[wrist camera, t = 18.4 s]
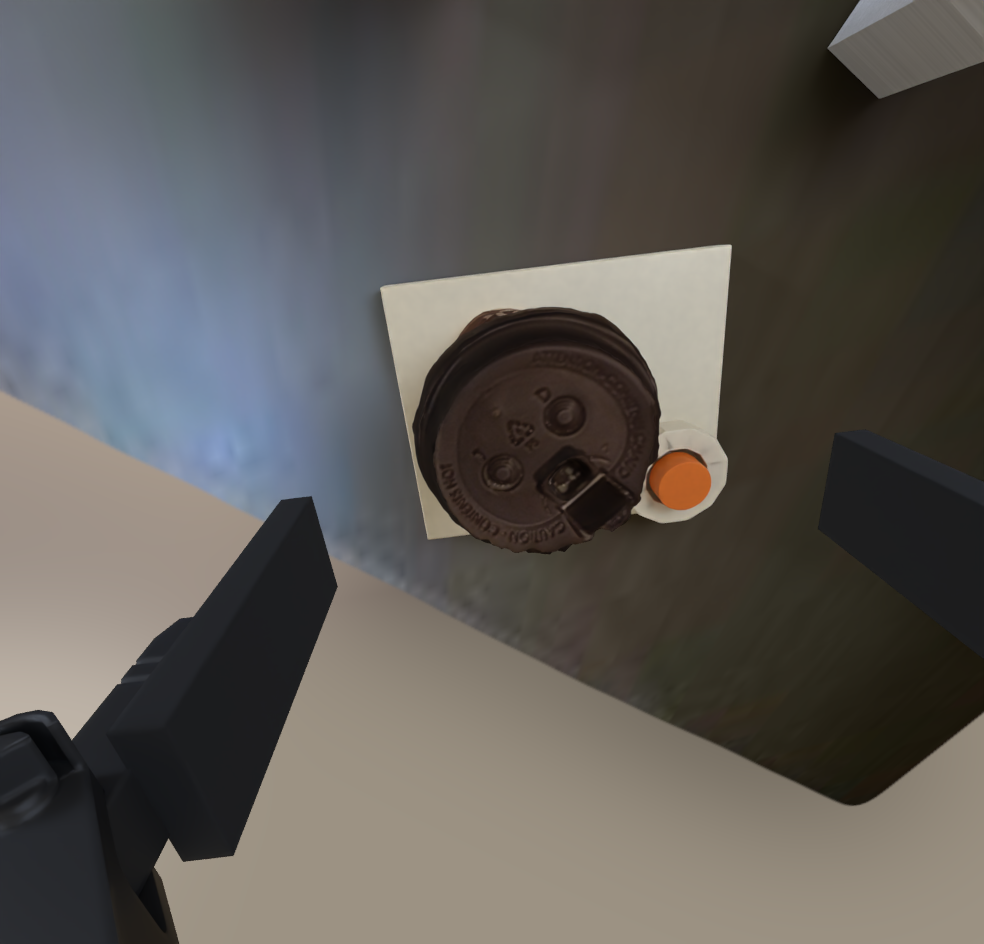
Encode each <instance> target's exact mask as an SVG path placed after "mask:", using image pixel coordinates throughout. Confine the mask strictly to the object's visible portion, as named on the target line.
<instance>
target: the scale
mask: <svg viewBox="0 0 984 944" xmlns="http://www.w3.org/2000/svg"><path fill="white" fill-rule="evenodd" d="M731 248H732V246H731V245H714V246H705V247H697V248H689V249H681V250H672V251H664V252H656V253H648V254H639V255H631V256H623V257H615V258H607V259H598V260H590V261H582V262H574V263H565V264H557V265H549V266H541V267H532V268H524V269H516V270H508V271H499V272H491V273H483V274H475V275H467V276H458V277H450V278H442V279H434V280H425V281H417V282H409V283H401V284H392V285H385V286H383V287H381V288H380V290H381V296H382V301H383V306H384V311H385V317H386V322H387V327H388V332H389V338H390V343H391V348H392V353H393V359H394V364H395V369H396V374H397V380H398V385H399V390H400V395H401V401H402V406H403V411H404V416H405V422H406V427H407V432H408V437H409V443H410V448H411V453H412V458H413V464H414V469H415V474H416V479H417V485H418V490H419V495H420V500H421V506H422V511H423V516H424V521H425V527H426V532H427V537H428V539H429V540H430V539H438V538H446V537H454V536H462V535H470V534H469V533H468V532H467V531H466V530H465V529H463V528H462V527H460V526H459V525H457V524H456V523H455V522H454V521H453V520H452V519H451V518H450V516H449V515H448V513H447V512H446V511H445V510H444V509H443V508H442V506H441V505H440V503H439V502H438V500H437V499H436V497H435V496H434V494H433V493H432V492H431V491H430V489H429V488H428V486H427V484H426V482H425V480H424V478H423V476H422V474H421V471H420V469H419V466H418V462H417V458H416V452H415V444H414V433H413V430H412V423H413V421H414V417H415V413H416V410H417V408H418V406H419V402H420V398H421V394H422V389H423V386H424V381H425V378H426V376H427V374H428V372H429V370H430V368H431V367H432V366H433V364H434V363H435V362H436V361H437V360H438V358H439V357H440V356H441V355H442V354H443V353H444V351H445V350H446V349H447V348H448V347H450V346H451V345H452V344H453V343H454V342H455V340H456V339H457V338H458V336H459V335H460V333H461V332H462V331H463V329H464V328H465V327H466V326H467V324H468V323H469V322H470V321H471V320H472V319H473V318H475V317H476V316H477V315H479V314H481V313H482V312H484V311H491V310H493V309H497V308H513V309H519V310H525V309H530V308H539V307H564V308H572V309H575V310H579V311H582V312H589V313H596V314H599V315H601V316H603V317H605V318H606V319H608V320H609V321H611V322H612V323H613V324H615V325H616V326H617V327H618V328H619V329H620V330H621V331H622V332H623V333H624V334H625V335H626V336H627V337H628V338H629V339H630V340H631V341H632V343H633V344H634V345H635V346H636V347H637V348H638V349H639V351H640V353H641V355H642V357H643V358H644V359H645V360H646V362H647V365H648V367H649V369H650V370H651V373H652V376H653V377H654V378H655V382H656V385H657V390H658V401H659V404H660V409H661V417H660V419H659V437H658V439H659V445H660V446H659V450H658V458H657V460H656V461H655V462H654V463H653V464H651V465H650V466H649V467H648V469H647V473H646V478H645V481H644V483H643V490H642V493H641V494H640V495H641V501H640V502H639V503H638V504H637V505H636V506H634V507H633V509H632V510H631V514H636V513H638V514H639V515H641V516H643V517H646V518H648V519H651V520H654V521H656V522H659V523H669V522H677V521H685V520H688V519H690V518H692V517H693V516H695V515H697V514H698V513H700V512H702V511H703V510H705V509H707V508H708V507H710V506H711V505H712V504H713V502H714V501H715V499H716V498H717V496H718V495H719V493H720V492H721V490H722V489H723V487H724V486H725V484H726V477H727V466H728V459H727V456H726V455H725V453H724V451H723V449H722V448H721V446H720V444H719V442H718V441H717V439H716V437H717V425H718V412H719V400H720V387H721V374H722V362H723V349H724V337H725V324H726V311H727V299H728V286H729V274H730V261H731ZM674 452H684V453H688V454H690V455H692V456H693V457H694V458H696V459H697V460H698V461H699V462H700V463H701V464H702V465H703V466H705V467H706V468H707V470H708V471H709V473H710V476H711V488H710V491H709V493H708V495H707V496H706V498H705V499H704V500H703V501H702V502H701V503H700V504H698V505H697V506H695V507H693V508H690V509H687V510H674V509H670V508H668V507H667V506H665V505H664V504H663V503H662V502H661V500H660V499H659V498H658V497H657V495H656V494H655V493H654V492H653V490H652V489H651V486H650V483H649V477H650V472H651V470H652V468H653V466H654V465H655V463H656V462H657V461H658V460H659V459H661V458H662V457H663V456H665V455H667V454H670V453H674Z"/></svg>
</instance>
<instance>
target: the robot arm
mask: <svg viewBox="0 0 984 944" xmlns="http://www.w3.org/2000/svg"><path fill="white" fill-rule="evenodd" d="M818 529H819V530H820V531H821V532H823V533H824V534H825V535H827V536H828V537H829V538H830V539H832V540H833V541H834V542H835V543H837V544H838V545H839V546H841V547H842V548H843V549H844V550H846V551H847V552H848V553H849V554H851V555H852V556H853V557H855V558H856V559H857V560H858V561H860V562H861V563H862V564H863V565H865V566H866V567H867V568H869V569H870V570H871V571H872V572H874V573H875V574H876V575H877V576H879V577H880V578H881V579H883V580H884V581H885V582H886V583H888V584H889V585H890V586H891V587H893V588H894V589H895V590H896V591H898V592H899V593H900V594H902V595H903V596H904V597H905V598H907V599H908V600H909V601H910V602H912V603H913V604H914V605H916V606H917V607H918V608H919V609H921V610H922V611H923V612H924V613H926V614H927V615H928V616H930V617H931V618H932V619H933V620H935V621H936V622H937V623H938V624H940V625H941V626H942V627H944V628H945V629H946V630H947V631H949V632H950V633H951V634H952V635H954V636H955V637H956V638H958V639H959V640H960V641H961V642H963V643H964V644H965V645H966V646H968V647H969V648H970V649H971V650H973V651H974V652H975V653H977V654H978V655H979V656H980V657H982V658H983V659H984V482H983V481H980V480H978V479H976V478H974V477H971V476H969V475H967V474H965V473H962V472H960V471H958V470H956V469H953V468H951V467H949V466H947V465H944V464H942V463H940V462H938V461H935V460H933V459H931V458H929V457H926V456H924V455H922V454H920V453H917V452H915V451H913V450H911V449H908V448H906V447H904V446H902V445H899V444H897V443H895V442H893V441H890V440H888V439H886V438H884V437H881V436H879V435H877V434H874V433H872V432H870V431H868V430H857V431H849V432H841V433H835V436H834V441H833V447H832V453H831V458H830V464H829V470H828V475H827V481H826V487H825V492H824V498H823V504H822V509H821V515H820V521H819V526H818ZM337 587H338V586H337V583H336V579H335V576H334V573H333V569H332V565H331V562H330V558H329V555H328V551H327V548H326V544H325V541H324V538H323V534H322V531H321V527H320V524H319V520H318V517H317V513H316V510H315V506H314V503H313V499H312V496H310V497H302V498H293V499H285V500H281V501H280V502H279V504H278V505H277V506H276V508H275V509H274V510H273V512H272V513H271V514H270V516H269V517H268V518H267V520H266V521H265V522H264V524H263V525H262V526H261V528H260V529H259V530H258V532H257V533H256V534H255V536H254V537H253V538H252V540H251V541H250V542H249V544H248V545H247V546H246V548H245V549H244V550H243V552H242V553H241V554H240V556H239V557H238V558H237V560H236V561H235V562H234V564H233V565H232V566H231V568H230V569H229V570H228V572H227V573H226V574H225V576H224V577H223V578H222V580H221V581H220V582H219V584H218V585H217V586H216V588H215V589H214V590H213V592H212V593H211V594H210V596H209V597H208V598H207V600H206V601H205V602H204V604H203V605H202V606H201V608H200V609H199V610H198V612H197V613H196V614H195V616H194V617H190V618H182V619H179V620H178V621H176V622H175V623H174V624H173V625H171V626H170V627H169V628H167V629H166V630H165V631H163V632H162V633H161V634H160V635H158V636H157V637H156V638H154V640H153V641H152V642H151V643H150V645H149V646H148V647H147V648H146V650H145V651H144V652H143V653H142V654H141V656H140V657H139V658H138V659H137V661H136V662H137V663H136V665H132V667H131V668H130V669H129V670H128V672H127V673H126V674H125V675H124V677H123V678H122V679H121V684H117V685H116V686H115V688H114V689H113V690H112V692H111V693H110V694H109V695H108V696H107V698H106V699H105V700H104V701H103V703H102V704H101V705H100V706H99V708H98V709H97V710H96V711H95V712H94V714H93V715H92V716H91V717H90V719H89V720H88V721H87V722H86V724H85V725H84V726H83V727H82V729H81V730H80V731H79V732H78V733H77V735H76V736H75V737H74V738H73V740H71V739H70V737H69V736H68V734H67V733H66V731H65V729H64V728H63V726H62V725H61V723H60V722H59V720H58V719H57V717H56V716H55V715H54V713H53V712H48V711H42V710H35V711H30V712H25V713H20V714H16V715H14V716H11V717H9V718H7V719H4V720H1V721H0V944H179V941H178V937H177V934H176V930H175V926H174V923H173V919H172V915H171V912H170V908H169V904H168V901H167V897H166V893H165V889H164V886H163V882H162V879H161V877H160V876H159V874H158V873H157V871H156V869H155V868H154V866H155V863H156V861H157V860H158V858H159V856H160V854H161V852H162V850H163V848H164V846H165V844H166V842H167V840H168V838H169V840H170V841H171V843H172V844H173V846H174V848H175V849H176V851H177V853H178V854H179V856H180V858H181V859H182V861H183V862H185V861H194V860H202V859H211V858H218V857H227V856H233V855H234V853H235V850H236V848H237V845H238V842H239V840H240V837H241V835H242V832H243V830H244V827H245V825H246V822H247V819H248V817H249V814H250V812H251V809H252V806H253V804H254V801H255V799H256V796H257V794H258V791H259V788H260V786H261V783H262V780H263V778H264V775H265V773H266V770H267V768H268V765H269V763H270V760H271V757H272V755H273V752H274V750H275V747H276V744H277V742H278V739H279V736H280V734H281V732H282V729H283V726H284V724H285V721H286V718H287V716H288V713H289V711H290V708H291V706H292V703H293V700H294V698H295V695H296V693H297V690H298V687H299V685H300V682H301V680H302V677H303V675H304V672H305V669H306V667H307V664H308V662H309V659H310V656H311V654H312V651H313V649H314V646H315V643H316V641H317V638H318V636H319V633H320V631H321V628H322V625H323V623H324V620H325V618H326V615H327V613H328V610H329V607H330V605H331V602H332V600H333V597H334V594H335V592H336V589H337Z"/></svg>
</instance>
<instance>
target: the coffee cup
mask: <svg viewBox="0 0 984 944" xmlns="http://www.w3.org/2000/svg"><path fill="white" fill-rule="evenodd" d="M660 417H661V409H660V404H659V401H658V390H657V385H656V382H655V378H654V377H653V376H652V373H651V370H650V369H649V367H648V365H647V362H646V360H645V359H644V358H643V357H642V355H641V353H640V351H639V349H638V348H637V347H636V346H635V345H634V344H633V343H632V341H631V340H630V339H629V338H628V337H627V336H626V335H625V334H624V333H623V332H622V331H621V330H620V329H619V328H618V327H617V326H616V325H615V324H613V323H612V322H611V321H609V320H608V319H606V318H605V317H603V316H601V315H599V314H596V313H589V312H582V311H579V310H575V309H572V308H564V307H539V308H530V309H525V310H519V309H513V308H497V309H493V310H491V311H484V312H482V313H481V314H479V315H477V316H476V317H475V318H473V319H472V320H471V321H470V322H469V323H468V324H467V326H466V327H465V328H464V329H463V331H462V332H461V333H460V335H459V336H458V338H457V339H456V340H455V342H454V343H453V344H452V345H451V346H450V347H448V348H447V349H446V350H445V351H444V353H443V354H442V355H441V356H440V357H439V358H438V360H437V361H436V362H435V363H434V364H433V366H432V367H431V368H430V370H429V372H428V374H427V376H426V378H425V381H424V386H423V389H422V394H421V398H420V402H419V406H418V408H417V410H416V413H415V417H414V421H413V423H412V430H413V433H414V444H415V452H416V458H417V462H418V466H419V469H420V471H421V474H422V476H423V478H424V480H425V482H426V484H427V486H428V488H429V489H430V491H431V492H432V493H433V494H434V496H435V497H436V499H437V500H438V502H439V503H440V505H441V506H442V508H443V509H444V510H445V511H446V512H447V513H448V515H449V516H450V518H451V519H452V520H453V521H454V522H455V523H456V524H457V525H459V526H460V527H462V528H463V529H465V530H466V531H467V532H468V533H469V534H471V535H472V536H473V537H475V538H476V539H479V540H482V541H484V542H486V543H490V544H492V545H494V546H498V547H500V548H501V549H503V548H507V549H509V550H511V551H512V552H514V553H519V552H522V551H527V552H528V553H541V554H551V553H552V552H554V551H557V550H558V551H563V552H565V551H566V550H567V549H568V548H569V547H570V546H571V545H572V544H579V543H583V542H587V541H590V540H592V538H593V537H594V533H595V531H596V530H598V529H601V528H602V529H605V530H610V531H611V532H613V531H614V530H615V529H617V528H618V527H620V526H621V525H623V524H624V523H626V522H627V521H628V520H629V518H630V516H631V510H632V509H633V507H634V506H636V505H637V504H638V503H639V502H640V501H641V495H640V494H641V493H642V490H643V483H644V481H645V478H646V473H647V469H648V467H649V466H650V465H651V464H653V463H654V462H655V461H656V460H657V458H658V450H659V446H660V445H659V439H658V437H659V419H660Z"/></svg>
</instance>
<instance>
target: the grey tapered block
mask: <svg viewBox="0 0 984 944" xmlns="http://www.w3.org/2000/svg"><path fill="white" fill-rule="evenodd" d="M827 49H829V50H830V51H831V52H832V53H833V54H834V55H835V56H836V57H837V58H838V59H839V60H840V61H841V62H842V63H843V64H844V65H845V66H846V67H847V68H848V69H849V70H850V71H851V72H852V73H853V74H854V75H855V76H856V77H857V78H858V79H859V80H860V81H861V82H862V83H863V84H864V85H865V86H866V87H867V88H868V89H870V90H871V91H872V92H873V93H874V94H875V95H876V96H877V97H878V98H879V99H880V98H883V97H886V96H888V95H891V94H894V93H897V92H900V91H902V90H905V89H908V88H911V87H914V86H916V85H919V84H922V83H925V82H928V81H930V80H933V79H936V78H939V77H941V76H944V75H947V74H950V73H953V72H955V71H958V70H961V69H964V68H967V67H969V66H972V65H975V64H978V63H981V62H983V61H984V0H860V1H859V3H858V4H857V6H856V7H855V9H854V10H853V12H852V13H851V15H850V16H849V17H848V19H847V20H846V22H845V23H844V25H843V26H842V28H841V29H840V31H839V32H838V34H837V35H836V36H835V38H834V39H833V41H832V42H831V44H830V45H829V47H828V48H827Z"/></svg>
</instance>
